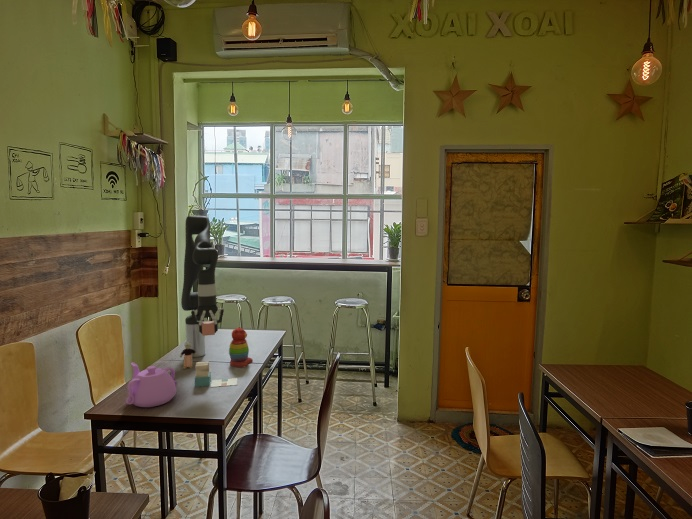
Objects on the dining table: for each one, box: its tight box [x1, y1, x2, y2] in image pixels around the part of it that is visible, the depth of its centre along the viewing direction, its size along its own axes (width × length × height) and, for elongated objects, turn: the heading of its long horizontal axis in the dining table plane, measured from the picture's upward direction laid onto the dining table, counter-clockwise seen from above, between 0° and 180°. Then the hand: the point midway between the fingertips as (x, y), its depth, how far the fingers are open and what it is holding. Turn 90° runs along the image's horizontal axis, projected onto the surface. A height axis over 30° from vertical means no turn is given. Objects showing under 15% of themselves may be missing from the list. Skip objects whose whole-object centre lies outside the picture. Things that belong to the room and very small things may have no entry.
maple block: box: [195, 360, 210, 377], centre depth 192 cm, size 5×5×5 cm
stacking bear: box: [228, 326, 253, 368], centre depth 218 cm, size 11×10×18 cm
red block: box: [202, 320, 216, 336], centre depth 193 cm, size 5×5×5 cm
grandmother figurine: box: [179, 341, 197, 370], centre depth 213 cm, size 8×4×13 cm, turn 117°
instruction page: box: [210, 377, 239, 388], centre depth 193 cm, size 8×11×1 cm
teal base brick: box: [194, 371, 212, 388], centre depth 192 cm, size 6×6×4 cm
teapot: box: [125, 361, 178, 408], centre depth 175 cm, size 22×22×14 cm
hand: (208, 332), depth 193 cm, fingers closed on red block, 5 cm apart
